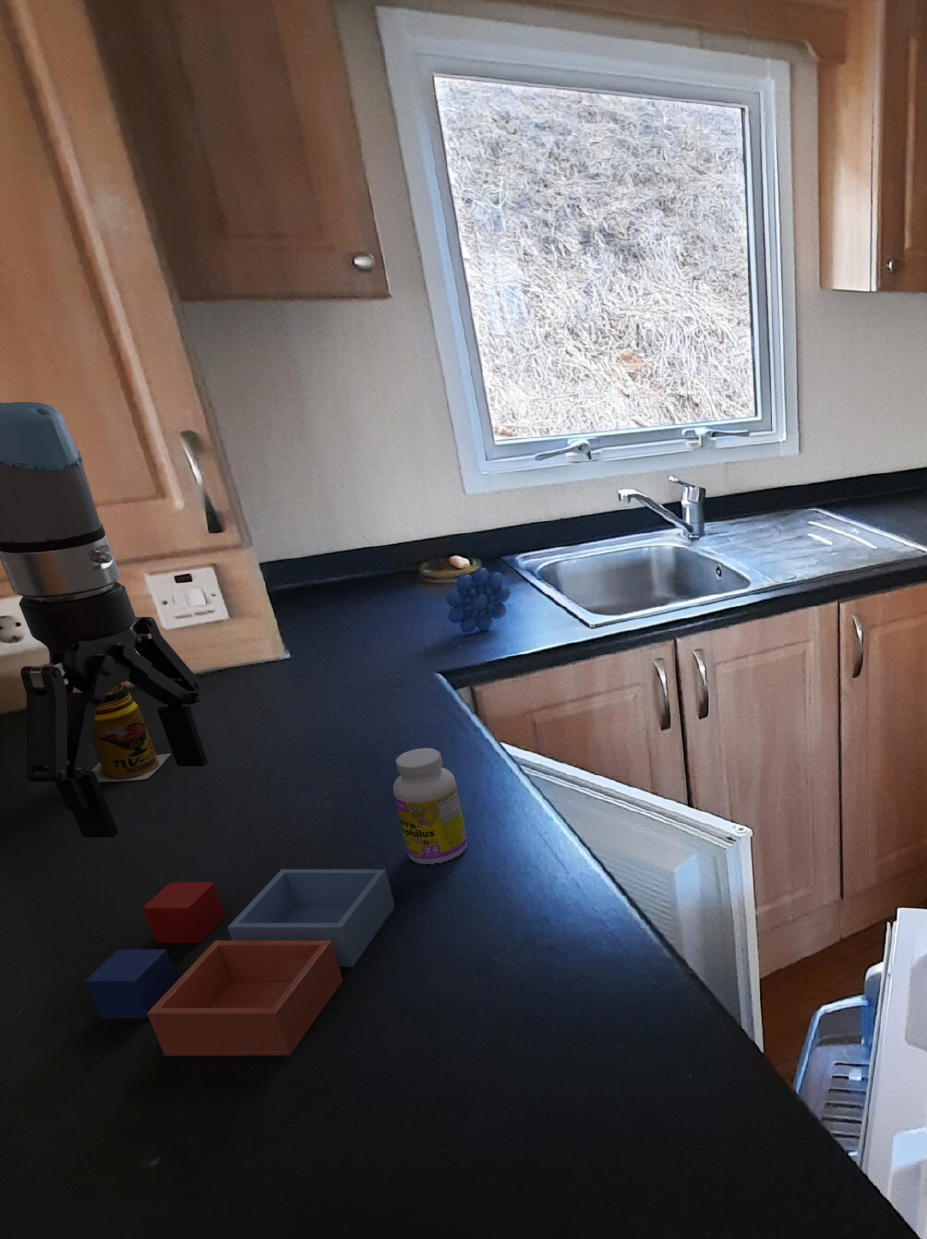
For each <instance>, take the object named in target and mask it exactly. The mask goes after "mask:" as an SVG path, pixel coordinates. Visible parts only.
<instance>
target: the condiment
mask: <svg viewBox="0 0 927 1239" xmlns="http://www.w3.org/2000/svg"><path fill="white" fill-rule="evenodd" d="M91 743H92V745H93V747H94V748H93V749H94V751H95V753H96V756H97V758H98V760H99V762H98V763H97V764H96V765H95V766H94V767H93V768H92V769H91V770H90V771H94V772H95V774H96V777H97V779H98V782H99V783H102V782H103V783H110V782H112V783H115V782H128V781H129V782H131V781H142V780H147V779H150V777H151V776H152V775H154V773H155V772H156V771H157V770H158V769H160V768H161V766H162V765H163V764H164V763H165V762H166V760H167V759H168V758H169V757H170V756H171V755H172V753H163V754H157V753H156V750H155V748H154V744H153V741H152V739H151V736H150V734H149V731H148V727H147V726H146V724H145V720H144V716H143V714H142V712H141V709H140V707H139V705H138V703H136V702H135V701H134V700H133V697H132V694H131V693H130V690H129V687H128V686H127V685H125V683H119V684H117V685H116V686H115V687H114V688H113V689H112V690H111V691H109V692H107V693H106V694H105V699H104V701H103V702H102V703H101V704H99V705H98V706H97V711H96V716H95V721H94V726H93V731H92V737H91Z"/></svg>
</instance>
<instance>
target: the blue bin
mask: <svg viewBox="0 0 927 1239" xmlns="http://www.w3.org/2000/svg"><path fill="white" fill-rule="evenodd" d="M393 896H394V895H393V893H392V888H391V885H390V881H389V878H388V873H387V869H379V868H378V869H374V868H373V869H371V868H369V869H367V868H366V869H365V868H364V869H363V868H362V869H361V868H359V869H358V868H356V869H355V868H353V869H347V868H346V869H345V868H344V869H343V868H340V869H333V868H332V869H329V868H328V869H327V868H326V869H325V868H323V869H321V868H319V869H317V868H316V869H314V868H313V869H312V868H311V869H308V868H306V869H305V868H291V869H290V868H281V869H280V871H278V873H276V874H275V875H274V877H273V878H272V879H271V880H270V881H269V882H268V883H267V884H266V885H265V886H264V888H262V890H261V891H260V892H259V893H258V894H257V895H256V896H255V897H254V898H253V899H252V900H251V901H250V902H249V903H248V904H247V905H246V906H245V908H244V909H242V911H241V912H240V913H239V914H238V915H237V916H236V917H235V918H234V920H233V921H232V922H230V924H229V925H228V926H227V931H228V933H229V936H230V938H231V941H325V940H331V942H332V945H333V948H334V952H335V955H336V959H337V962H338V965H339V968H353V967H354V966H355V965H356V963H357V962H358V961H359V959H360V958H361V956H363V953H364V952H365V951H366V949H367V948H368V946H369V945H370V943H371V942H372V941H373V939H374V938H375V936H376V935H377V934H378V932H379V931H380V929H381V928H382V927H383V925H384V924H385V923H386V921H387V920H388V918H389V917H390V915H391V914H392V913H393V911H394V910H395V908H396V905H395V901H394V897H393ZM394 905H395V907H394V908H393V906H394ZM392 908H393V909H392ZM391 910H392V911H391ZM390 911H391V912H390ZM389 913H390V914H389ZM388 914H389V915H388ZM386 917H387V918H386ZM385 918H386V919H385ZM384 920H385V921H384ZM383 921H384V922H383ZM381 924H382V925H381ZM380 925H381V926H380ZM378 928H379V929H378ZM377 929H378V931H377ZM376 931H377V932H376ZM375 932H376V933H375ZM374 934H375V935H374ZM369 941H370V942H369Z"/></svg>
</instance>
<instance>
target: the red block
mask: <svg viewBox="0 0 927 1239" xmlns="http://www.w3.org/2000/svg"><path fill="white" fill-rule="evenodd" d="M142 911H143V913H144V916H145V918H146V920H147V923H148V926H149V929H150V930H151V933H152V936H153V939H154V941H155V943H156V944H201V943H202V942H203V941H204V940H205V939H206V938H207V937H208V936H209V935H210V934H211V933H212V932H213V931H215V929H216V928H217V927H218V926H219V924H220V923H221V922H222V921H223V920H225V918H226V917H227V916H226V914H225V910H224V908H223V905H222V902H221V899H220V896H219V894H218V891H217V887H216V885H215V883H214V882H210V881H209V882H204V881H203V882H202V881H201V882H190V881H189V882H179V881H178V882H176V881H175V882H173V881H172V882H171V881H170V882H169V883H168V884H167V885H165V887H163V889H162V890H160V891H159V892H158V893H157V894H156V895H155V896H154V897H153V898H152V899H150V901H148V902H147V903H146V904H145V905H144V906H143V907H142Z"/></svg>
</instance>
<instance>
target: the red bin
mask: <svg viewBox="0 0 927 1239" xmlns="http://www.w3.org/2000/svg"><path fill="white" fill-rule="evenodd" d="M343 982H344V978H343V976H342V972H341V969H340V967H339V965H338V962H337V959H336V955H335V952H334V948H333V945H332V942H331V940H325V941H232V940H220V939H219V940H218V939H217V940H214V941H213V942H212V943H211V944H210V945H209V946H208V947H207V948H206V950H204V951H203V952H202V954H200V956H198V958H197V959H196V960H195V961H194V962H193V963H192V965H190V967H188V969H187V970H186V971H185V972H184V973H183V974H182V975H181V976H180V977H178V981H177V982H176V983H175V984H174V985H173V986H172V987H171V988H170V989H169V990H168V991H167V992H166V993H165V995H164V996H163V997H162V998H161V999H160V1000H159V1001H158V1002H157V1003H156V1004H155V1005H154V1006H153V1007H152V1008H151V1009H150V1011H149V1012H148V1013H147V1015H148V1017H149V1018H148V1019H149V1022H150V1023H151V1027H152V1029H153V1031H154V1035H155V1036H156V1038H157V1041H158V1043H159V1046H160V1048H161V1050H162V1052H163V1054H164V1057H210V1056H211V1057H220V1056H221V1057H227V1056H228V1057H233V1056H234V1057H236V1056H237V1057H239V1056H240V1057H241V1056H244V1057H245V1056H246V1057H247V1056H248V1057H249V1056H250V1057H252V1056H261V1057H262V1056H265V1057H267V1056H270V1057H271V1056H273V1057H274V1056H280V1057H281V1056H285V1057H286V1056H291V1055H292V1054H293V1052H294V1051H295V1049H296V1048H297V1046H298V1045H299V1043H300V1042H301V1041H302V1039H303V1038H304V1037H305V1035H306V1034H307V1032H308V1031H309V1029H310V1028H311V1027H312V1025H313V1024H314V1023H315V1021H316V1020H317V1019H318V1017H319V1016H320V1014H321V1013H322V1011H323V1010H324V1008H325V1007H326V1005H327V1004H328V1003H329V1001H330V1000H331V999H332V997H333V996H334V994H335V993H336V992H337V990H338V989H339V987H340V986H341V985H342V983H343Z"/></svg>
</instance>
